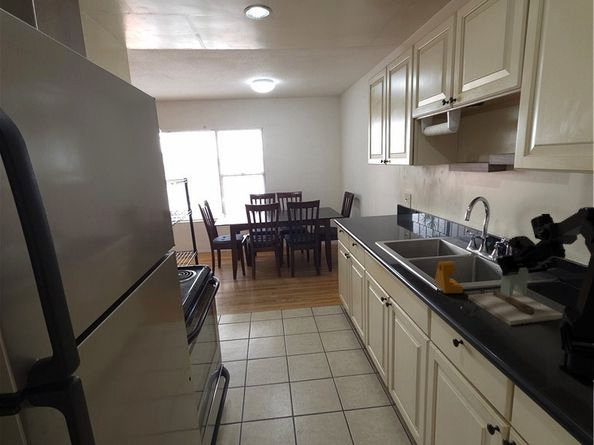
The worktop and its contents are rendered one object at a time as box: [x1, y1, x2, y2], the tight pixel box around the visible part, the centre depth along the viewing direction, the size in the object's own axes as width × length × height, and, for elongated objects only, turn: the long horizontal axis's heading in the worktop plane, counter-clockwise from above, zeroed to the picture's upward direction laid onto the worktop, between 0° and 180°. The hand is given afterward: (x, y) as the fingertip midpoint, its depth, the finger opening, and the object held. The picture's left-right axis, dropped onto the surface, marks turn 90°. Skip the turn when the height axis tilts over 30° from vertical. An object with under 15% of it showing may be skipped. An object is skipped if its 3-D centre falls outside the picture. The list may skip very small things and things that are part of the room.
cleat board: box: [467, 289, 563, 326], centre depth 114 cm, size 20×19×4 cm
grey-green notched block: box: [499, 268, 529, 296], centre depth 112 cm, size 4×6×10 cm, turn 98°
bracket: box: [434, 260, 464, 294], centre depth 131 cm, size 11×7×12 cm, turn 176°
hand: (511, 273), depth 113 cm, fingers closed on grey-green notched block, 6 cm apart
